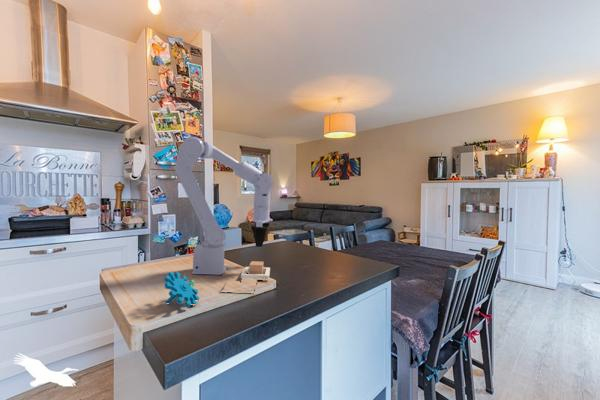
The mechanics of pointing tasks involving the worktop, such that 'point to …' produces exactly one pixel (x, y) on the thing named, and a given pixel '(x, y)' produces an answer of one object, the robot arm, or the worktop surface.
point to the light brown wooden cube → (256, 267)
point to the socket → (265, 274)
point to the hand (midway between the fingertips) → (260, 244)
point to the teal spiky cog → (180, 289)
